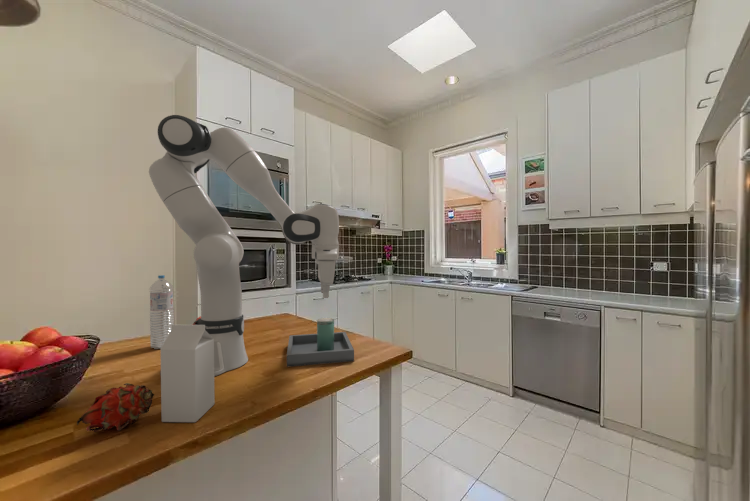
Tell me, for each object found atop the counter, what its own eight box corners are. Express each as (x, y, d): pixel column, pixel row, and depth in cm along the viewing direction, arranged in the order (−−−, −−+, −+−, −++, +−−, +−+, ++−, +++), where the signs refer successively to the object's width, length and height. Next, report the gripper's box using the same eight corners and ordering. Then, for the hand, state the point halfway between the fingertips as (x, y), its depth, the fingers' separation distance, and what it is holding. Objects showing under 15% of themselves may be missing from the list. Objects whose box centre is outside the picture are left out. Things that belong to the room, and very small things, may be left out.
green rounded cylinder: (317, 353, 100) (317, 322, 100) (316, 347, 105) (316, 318, 105) (334, 351, 101) (334, 321, 101) (333, 346, 107) (333, 317, 106)
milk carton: (195, 423, 62) (194, 329, 62) (161, 422, 63) (159, 329, 62) (214, 404, 70) (213, 320, 69) (183, 404, 70) (182, 320, 69)
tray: (286, 367, 91) (286, 355, 91) (289, 345, 110) (289, 335, 110) (354, 361, 95) (354, 349, 95) (345, 341, 115) (345, 331, 115)
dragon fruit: (160, 420, 66) (84, 457, 57) (148, 388, 70) (75, 418, 61) (161, 399, 62) (79, 434, 53) (147, 366, 66) (69, 394, 57)
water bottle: (157, 343, 112) (156, 274, 111) (177, 342, 113) (176, 274, 112) (146, 350, 105) (144, 276, 105) (167, 349, 106) (166, 276, 105)
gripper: (314, 252, 112) (313, 290, 112) (316, 254, 92) (316, 300, 92) (332, 252, 113) (331, 290, 114) (338, 254, 93) (337, 300, 94)
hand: (324, 295), depth 103 cm, fingers open, 8 cm apart
